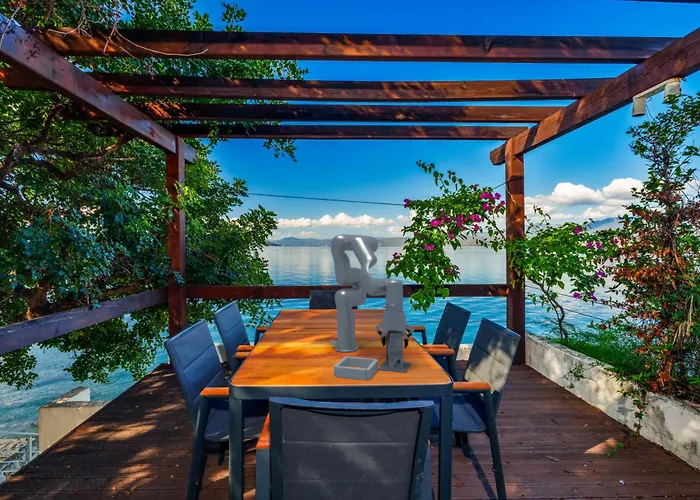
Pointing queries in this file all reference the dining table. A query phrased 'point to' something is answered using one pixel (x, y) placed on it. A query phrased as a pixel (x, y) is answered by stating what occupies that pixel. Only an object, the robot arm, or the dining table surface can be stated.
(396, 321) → the robot arm
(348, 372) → the holder
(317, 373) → the dining table surface
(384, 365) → the mat
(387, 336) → the coffee box
